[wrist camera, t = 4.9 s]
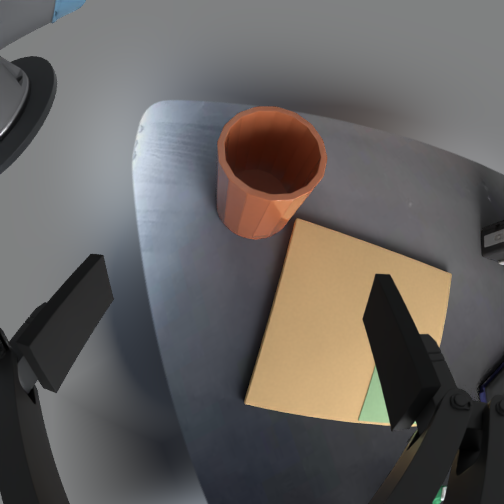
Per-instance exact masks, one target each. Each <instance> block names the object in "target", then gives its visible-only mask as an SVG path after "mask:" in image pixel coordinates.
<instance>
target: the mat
mask: <svg viewBox="0 0 504 504" xmlns="http://www.w3.org/2000/svg"><path fill="white" fill-rule="evenodd" d="M375 274H390V275H391V277H392V279H393V281H394V283H395V285H396V286H397V288H398V290H399V292H400V294H401V296H402V298H403V300H404V302H405V304H406V306H407V308H408V310H409V313H410V315H411V317H412V319H413V321H414V323H415V325H416V327H417V330H418V332H419V334H429V335H430V336H431V337H432V338H433V339H434V340H435V341H436V342H437V344H438V346H439V347H440V342H441V337H442V333H443V327H444V322H445V317H446V311H447V305H448V298H449V291H450V284H451V275H452V274H450V273H448V272H445V271H443V270H440V269H438V268H435V267H433V266H430V265H427V264H425V263H422V262H420V261H417V260H414V259H412V258H409V257H406V256H404V255H401V254H398V253H396V252H393V251H390V250H388V249H385V248H382V247H379V246H377V245H374V244H371V243H368V242H366V241H363V240H360V239H357V238H354V237H352V236H349V235H346V234H343V233H340V232H337V231H334V230H331V229H328V228H325V227H323V226H320V225H317V224H314V223H311V222H308V221H305V220H302V219H299V218H296V220H295V222H294V226H293V230H292V233H291V237H290V241H289V245H288V249H287V253H286V256H285V260H284V264H283V268H282V271H281V275H280V279H279V282H278V286H277V290H276V293H275V297H274V300H273V304H272V308H271V311H270V315H269V318H268V322H267V325H266V329H265V332H264V336H263V339H262V343H261V346H260V349H259V353H258V356H257V360H256V363H255V366H254V370H253V373H252V376H251V380H250V383H249V386H248V390H247V393H246V396H245V399H244V403H245V404H248V405H253V406H257V407H262V408H266V409H271V410H276V411H281V412H286V413H292V414H298V415H304V416H310V417H316V418H323V419H330V420H338V421H346V422H356V423H366V424H378V425H390V423H379V422H368V421H358V419H359V416H360V413H361V410H362V407H363V404H364V401H365V398H366V394H367V391H368V388H369V385H370V381H371V378H372V375H373V371H374V368H375V361H374V358H373V354H372V351H371V347H370V343H369V340H368V337H367V333H366V330H365V326H364V323H363V320H362V318H363V315H364V312H365V308H366V305H367V302H368V298H369V295H370V292H371V288H372V285H373V281H374V277H375ZM412 426H417V424H413V425H412Z"/></svg>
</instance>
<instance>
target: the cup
mask: <svg viewBox="0 0 504 504" xmlns="http://www.w3.org/2000/svg"><path fill="white" fill-rule="evenodd" d="M326 163H327V155H326V150H325V146H324V142H323V139H322V138H321V137H320V135H319V134H318V132H317V131H316V129H315V128H314V127H313V125H312V124H311V123H309V122H308V121H307V120H305V119H304V118H302V117H301V116H300V115H298V114H297V113H295V112H292V111H289V110H286V109H283V108H279V107H276V106H273V107H271V106H258V107H253V108H251V109H248V110H245V111H242V112H239V113H238V114H236V115H235V116H234V117H233V118H232V119H231V120H230V121H229V122H228V123H226V124H225V126H224V127H223V129H222V132H221V134H220V137H219V139H218V142H217V163H216V207H217V211H218V215H219V217H220V219H221V220H222V222H223V223H224V225H225V226H226V227H227V228H228V229H229V230H231V231H232V232H233V233H235V234H237V235H239V236H241V237H244V238H248V239H262V238H267V237H270V236H272V235H274V234H276V233H277V232H279V231H280V230H281V229H282V228H283V227H284V226H285V224H286V223H287V222H288V221H289V220H290V218H291V217H292V216H293V214H294V213H295V212H296V211H297V209H298V208H299V207H300V206H301V204H302V203H303V202H304V201H305V199H306V198H307V197H308V196H309V194H310V193H311V192H312V190H313V189H314V188H315V187H316V185H317V184H318V183H319V182H320V180H321V179H322V178H323V176H324V172H325V167H326Z"/></svg>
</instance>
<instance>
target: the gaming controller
mask: <svg viewBox="0 0 504 504" xmlns="http://www.w3.org/2000/svg"><path fill="white" fill-rule="evenodd" d="M446 489H447V486H441V488H440V490H439V492H438V494H437V496H436V497H435V499H434V501H433V503H432V504H440V503H441V501H443V500H444V497H445V493H446Z"/></svg>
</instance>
